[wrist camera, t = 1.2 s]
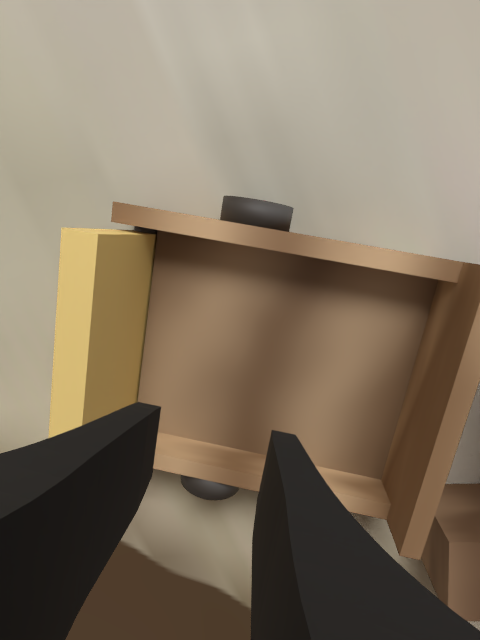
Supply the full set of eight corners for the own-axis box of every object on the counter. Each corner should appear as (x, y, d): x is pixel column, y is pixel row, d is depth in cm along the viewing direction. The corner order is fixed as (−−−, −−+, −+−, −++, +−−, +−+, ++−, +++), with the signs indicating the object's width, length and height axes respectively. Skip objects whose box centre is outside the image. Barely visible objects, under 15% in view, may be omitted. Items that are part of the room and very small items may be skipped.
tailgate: (161, 230, 18) (98, 227, 12) (139, 416, 21) (76, 496, 14) (137, 226, 19) (62, 221, 12) (117, 412, 21) (45, 489, 14)
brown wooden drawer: (458, 238, 17) (526, 240, 13) (382, 498, 20) (413, 580, 16) (141, 185, 18) (91, 167, 14) (114, 440, 21) (65, 500, 17)
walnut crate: (499, 482, 20) (553, 542, 16) (496, 549, 21) (546, 622, 17) (417, 483, 20) (449, 542, 16) (417, 549, 21) (447, 620, 17)
